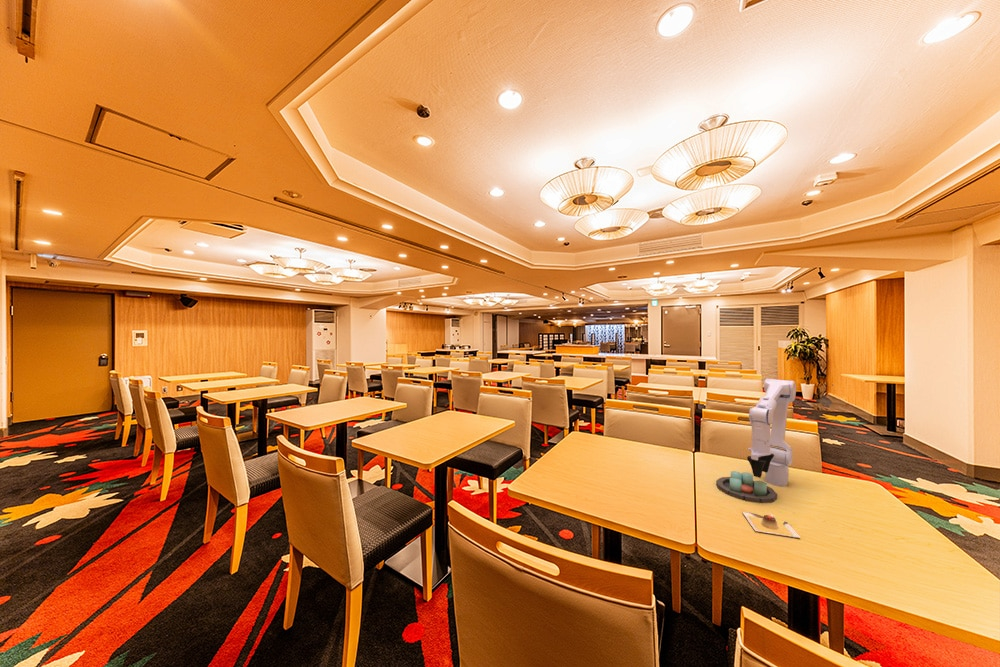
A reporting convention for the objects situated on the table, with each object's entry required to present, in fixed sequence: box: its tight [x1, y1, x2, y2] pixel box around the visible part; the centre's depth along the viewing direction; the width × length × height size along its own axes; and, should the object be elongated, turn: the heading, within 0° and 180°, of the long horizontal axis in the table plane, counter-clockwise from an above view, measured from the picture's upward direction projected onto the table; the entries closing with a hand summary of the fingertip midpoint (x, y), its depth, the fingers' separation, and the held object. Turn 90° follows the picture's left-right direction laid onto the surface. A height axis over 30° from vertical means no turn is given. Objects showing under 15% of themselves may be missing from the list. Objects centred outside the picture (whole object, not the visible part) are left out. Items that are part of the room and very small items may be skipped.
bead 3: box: [753, 480, 768, 496], centre depth 132 cm, size 4×4×5 cm
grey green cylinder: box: [730, 478, 742, 493], centre depth 134 cm, size 4×4×5 cm
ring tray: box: [715, 476, 778, 504], centre depth 136 cm, size 19×19×2 cm
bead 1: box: [730, 470, 742, 484], centre depth 141 cm, size 4×4×5 cm
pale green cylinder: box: [741, 472, 754, 488], centre depth 140 cm, size 4×4×5 cm
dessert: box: [742, 511, 802, 539], centre depth 113 cm, size 12×12×5 cm
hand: (760, 474), depth 132 cm, fingers open, 7 cm apart
